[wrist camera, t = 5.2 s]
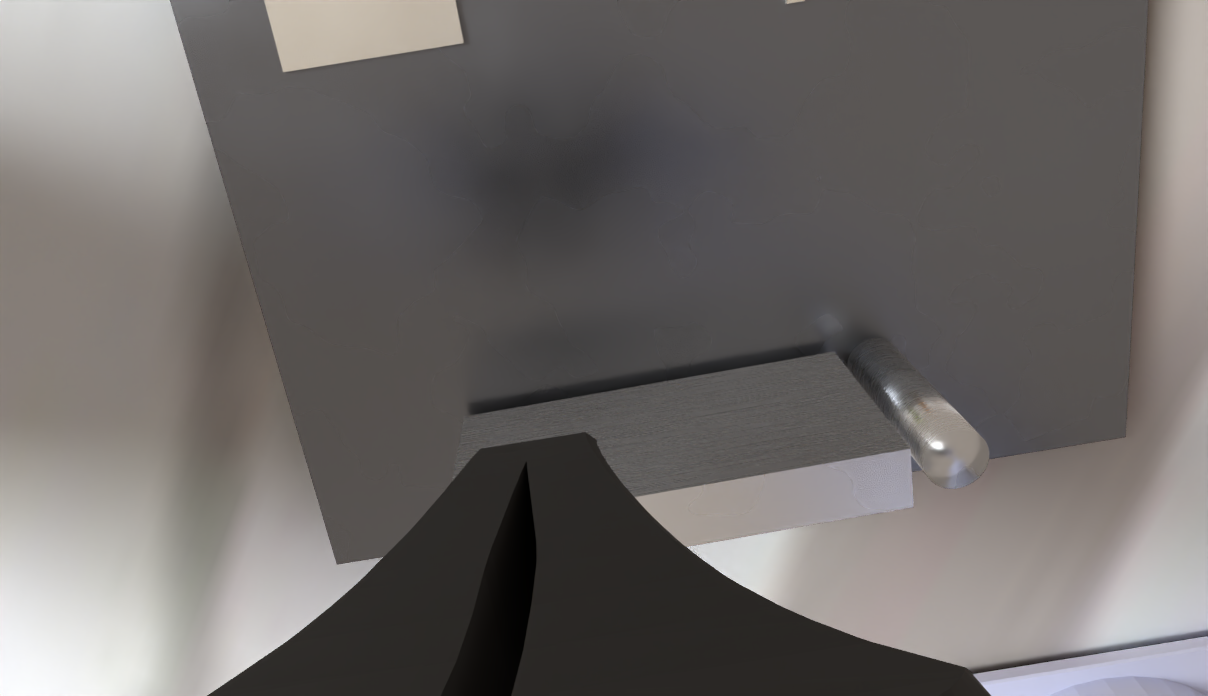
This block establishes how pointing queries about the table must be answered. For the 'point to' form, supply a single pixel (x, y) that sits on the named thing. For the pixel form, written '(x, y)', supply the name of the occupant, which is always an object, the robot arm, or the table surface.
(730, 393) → the gate
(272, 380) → the table surface
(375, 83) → the console
